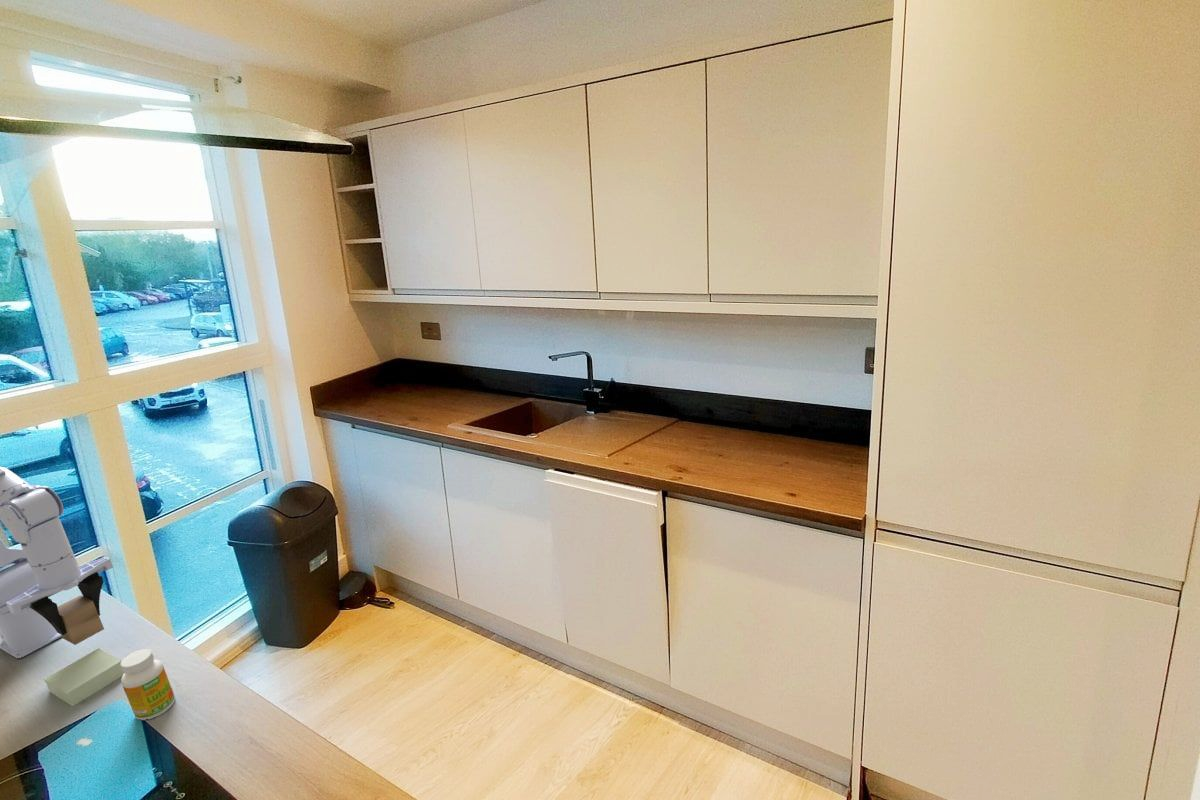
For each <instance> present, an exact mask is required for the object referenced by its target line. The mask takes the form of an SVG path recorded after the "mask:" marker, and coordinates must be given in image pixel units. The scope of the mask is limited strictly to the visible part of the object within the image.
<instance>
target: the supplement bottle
mask: <svg viewBox="0 0 1200 800" xmlns="http://www.w3.org/2000/svg"><path fill="white" fill-rule="evenodd" d="M121 660H122V661H121V668H122V671H123V672H124V674H123V676H121V677H120V681H121V685H122V689H123V691H124V693H125V695H126V698H127V700H128V702H129V705H130V707H131V710H132V713H133V715H134V717H135V718H136V719H137V720H139V719H141V720H140V721H147V720H146V719H148V720H151V719H155V718H157V717H159V716H161V715H163V714H165V712H166V711H168V710H169V709H170V708H172V706H173V705H174V702H175V701H176V695H175V693H174V691H173V688H172V685H171V683H170V680H169V678H168V675H167V672H166V669H165V667H164V664H163V662H162V661H161V660H159V659H157V658H155V657H154V655H153V652H152V650H151V649H148V648H143V649H140V650H139V649H138V650H136V651H133V652H131V653H130V654H127V656H125V657H124V658H123V659H121ZM154 717H155V718H154Z"/></svg>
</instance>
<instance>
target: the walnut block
mask: <svg viewBox="0 0 1200 800" xmlns="http://www.w3.org/2000/svg"><path fill="white" fill-rule="evenodd" d="M57 607H58V612H59V615H60V618H61V620H62V622H63V624H64V626H65V628H66V631H67V633H66V634H64V635H62V636H61V638H62V639H63V640H65V641H66V642H69V643H70V644H72V645H74V646H77V645H78V644H81V642H83V641H85V640H87V639H88V638H91V637H92V636H95V635H96V634H99V633H100V632H102V631H103V630H105V628H104V625H103V623H102V620H101V617H100V616H99V615H98V612H97V610H96V608H95V605H94V603H93V601H92V600H90V599H87V598H85V597H83V595H82V594H81V595H78V596H77V597H74V598H73V599H70V600H68V601H67V602H64V603H62V604H60V605H57Z"/></svg>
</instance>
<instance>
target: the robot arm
mask: <svg viewBox="0 0 1200 800" xmlns="http://www.w3.org/2000/svg"><path fill="white" fill-rule="evenodd" d="M63 513H64V505H63V503H62V500H61V498H60V497H59V495H58V494H57V493H56V492H55V490H53V489H52V488H50V487H49V486H48V485H47V486H46V485H38V484H30V483H29V482H27V481H26V480H25V479H24V478H22V477H20V476H18V475H17V474H16V473H14V472H13V471H12V470H10V469H8V468H7V467H3V466H0V521H1V523H2V524H3V526H5V528H6V529H7V530H8V532H9V533H10V534H11V536H12V538H13V540H14V541H15V543H19V544H20V546H21V548H13V547H12V548H11V547H7V545H6V544H5V543H4V542H3V540H2V539H1V538H0V569H2V568H4V567H6V568H4V569H2V570H0V639H1V640H2V641H0V650H2V651H3V652H5V653H7V654H8V655H9V656H10V655H11V656H12V657H13V656H14V657H13V658H15V657H16V658H15V659H17V658H20V659H22V658H24V657H26V656H27V655H28V656H29V654H31V653H33V652H35V651H37V650H39V649H41V648H42V647H44V646H46V645H49V644H50V643H52V642H54V641H56V640H57V639H60V638H62V635H64V634H66V633H67V631H66V628H65V626H64V624H63V622H62V620H61V618H60V615H59V612H58V604H57V603H56V602H54V601H52V599H51V598H49V597H52V596H54V595H55V594H56V595H57V594H58V593H60V592H62V591H68V590H70V589H72V588H74V587H78V589H79V592H80V593H81V596H83V597H85V598H87V599H90V600H92V601H93V603H94V605H95V608H96V610H97V612H98V615H99V617H100V616H101V612H100V600H101V599H100V598H101V592H102V588H103V585H104V578H103V576H101V575H99V574H101V572H103V571H104V572H105V571H109V570H112V569H113V568H114V566H113V563H112V561H111V558H110V557H107V556H103V557H100V558H99V559H96V560H93V561H90V562H87V563H84V564H81V565H79V563H78V561H77V558H76V556H75V553H74V551H73V548H72V546H71V544H70V541H69V539H68V537H67V534H66V531H65V528H64V527H63V523H62V522H61V519H60V517H61V516H62V515H63ZM9 565H10V566H9ZM8 566H9V567H8ZM21 657H22V658H21Z"/></svg>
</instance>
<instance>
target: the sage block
mask: <svg viewBox="0 0 1200 800" xmlns="http://www.w3.org/2000/svg"><path fill="white" fill-rule="evenodd" d="M122 660H123V659H120V658H118V657H116V656H114V655H112V654H111V653H108V652H106V651H105V650H103V649H101V648H97V649H95V650H93V651H91V652H89V653H88V654H86V655H85V656H82V657H81V658H79V659H77V660H76V661H73V662H72V663H70V664H68V665H67V666H65V667H63V668H61V669H60V670H57V672H54V673H52V674H51V675H49V676H47V677H46V678H44V679H43V680H44V682H45V684H46V687H47V689H48V691H49V693H51V694H53V695H54V696H56V697H57V698H59V699H60V700H62V701H64V702H65V703H67V704H68V705H69V706H71V707H74V706H76V705H77V704H79V703H80V702H82V701H83V700H86V699H87V698H89V697H90V696H92V695H93V694H95V693H97V692H99V691H100V690H102V689H104V688H105V687H107V686H108V685H110V684H112V683H113V682H115V681H117V680H118V679H119V678H120V679H121V678H122V676H123V674H124V672H123V671H122V668H121V661H122Z"/></svg>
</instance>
